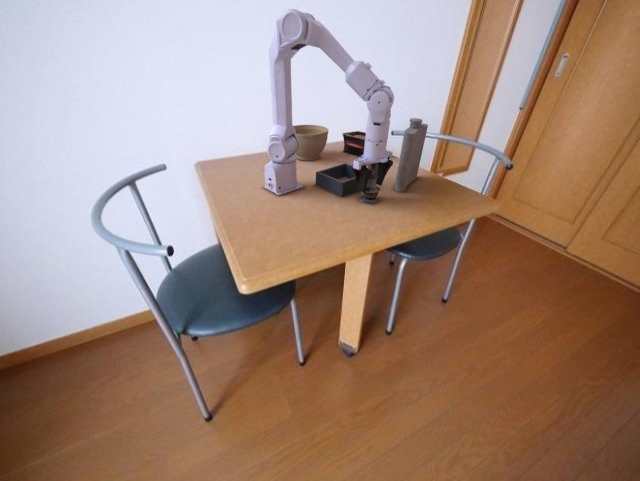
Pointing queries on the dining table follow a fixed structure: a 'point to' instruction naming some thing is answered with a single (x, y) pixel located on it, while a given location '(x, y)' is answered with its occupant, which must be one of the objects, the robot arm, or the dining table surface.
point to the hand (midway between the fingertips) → (370, 187)
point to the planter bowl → (310, 141)
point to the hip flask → (410, 153)
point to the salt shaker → (371, 186)
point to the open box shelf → (332, 184)
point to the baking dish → (354, 142)
